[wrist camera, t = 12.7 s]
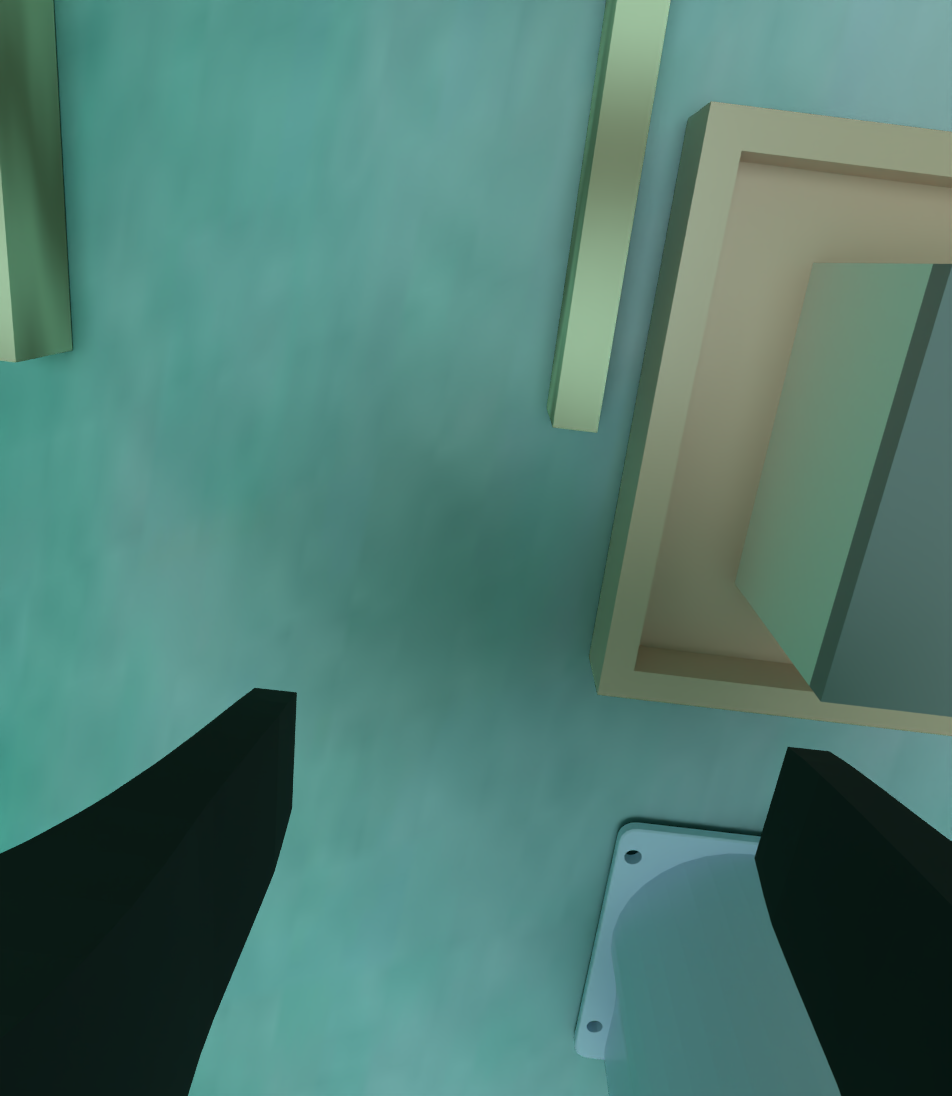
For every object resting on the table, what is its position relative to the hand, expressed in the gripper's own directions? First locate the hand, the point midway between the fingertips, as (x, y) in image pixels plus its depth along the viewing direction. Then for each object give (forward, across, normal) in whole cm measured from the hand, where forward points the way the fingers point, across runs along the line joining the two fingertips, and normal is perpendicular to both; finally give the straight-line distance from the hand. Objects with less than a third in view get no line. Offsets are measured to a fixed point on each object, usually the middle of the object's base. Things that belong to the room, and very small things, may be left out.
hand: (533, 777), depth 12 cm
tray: (+10, -8, -4) cm, 14 cm away
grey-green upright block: (+10, -8, -4) cm, 13 cm away
